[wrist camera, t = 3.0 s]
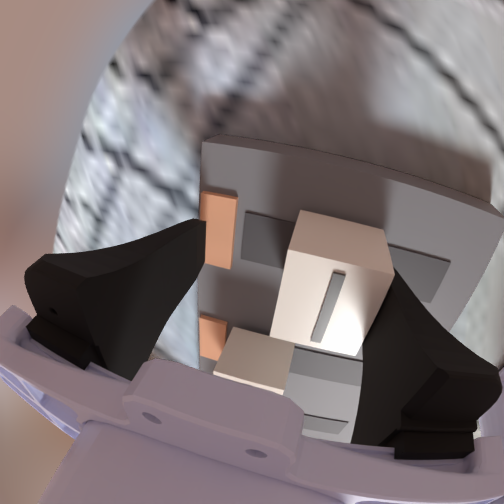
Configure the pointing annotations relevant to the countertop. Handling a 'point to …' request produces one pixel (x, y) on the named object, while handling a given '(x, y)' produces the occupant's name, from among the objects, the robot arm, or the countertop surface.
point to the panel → (338, 206)
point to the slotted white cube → (332, 283)
